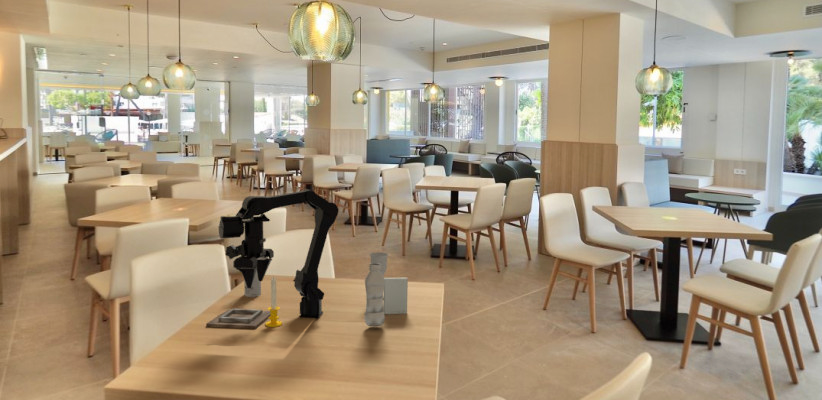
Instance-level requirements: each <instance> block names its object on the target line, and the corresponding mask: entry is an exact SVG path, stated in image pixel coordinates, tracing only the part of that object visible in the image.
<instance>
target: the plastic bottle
mask: <svg viewBox="0 0 822 400" xmlns="http://www.w3.org/2000/svg"><path fill="white" fill-rule="evenodd" d="M368 267H369V268H368V270H369V272H368V274H367V275H366V277H364V278H365V279H364V286H365V297H366V300H365V301H366V303H365V304H366V305H365V311H364V312H365V313H364V322H365V323H364V324H366V326H368V327H371V328H373V327H380V326H383V324H384V323H385V319H386V318H385V317H386V316H385V315H386V314H384V311H383V310H384V300H383V298H384V284H385V279H384V278H385V276H383V275H382V274H381V272H380V270H381V264H379V263H371V262H370V263H369V265H368Z"/></svg>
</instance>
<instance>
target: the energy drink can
mask: <svg viewBox="0 0 822 400" xmlns="http://www.w3.org/2000/svg"><path fill="white" fill-rule="evenodd" d="M243 281H244V297H247V298H256V297H259V296H261V295H262V281H259V280H258V274H257V270H256V274H255V277H254V280H253V284H252V287H251V288H247V285H246V282H245V280H244V279H243Z"/></svg>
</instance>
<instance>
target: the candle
mask: <svg viewBox="0 0 822 400" xmlns="http://www.w3.org/2000/svg"><path fill="white" fill-rule="evenodd" d="M280 309H281V307H280V306H277V278H276V277H274V276H273V277H271V281H270V306H269V307H267V311H270V315H271V316H270V317H269V318H268V320H269V321H265V322H264V323H265V327H267V328H278V327H281V326H283V322H282V321H281V320H279V319H280V316H279V315H278V310H280Z"/></svg>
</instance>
